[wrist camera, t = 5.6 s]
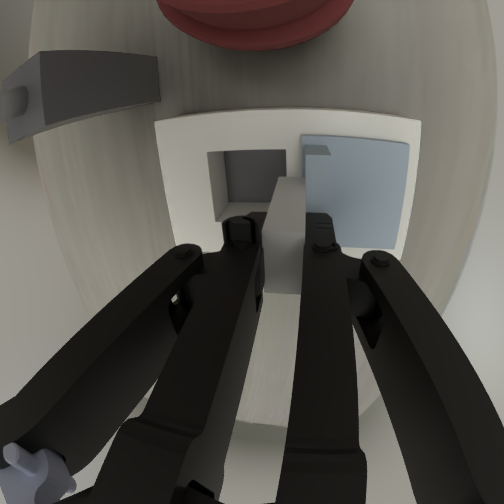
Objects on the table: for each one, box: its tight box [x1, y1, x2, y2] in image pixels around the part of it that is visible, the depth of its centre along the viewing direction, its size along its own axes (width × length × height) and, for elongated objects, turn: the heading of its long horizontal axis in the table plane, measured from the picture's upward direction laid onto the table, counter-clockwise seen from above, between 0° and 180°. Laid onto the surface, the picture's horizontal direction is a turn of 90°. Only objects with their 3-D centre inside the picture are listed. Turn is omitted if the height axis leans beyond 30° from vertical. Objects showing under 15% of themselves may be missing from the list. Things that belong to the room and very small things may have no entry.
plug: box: [0, 50, 160, 144], centre depth 12 cm, size 4×4×14 cm
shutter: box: [302, 134, 410, 249], centre depth 15 cm, size 7×6×4 cm
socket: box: [154, 107, 421, 260], centre depth 19 cm, size 10×17×4 cm, turn 93°
